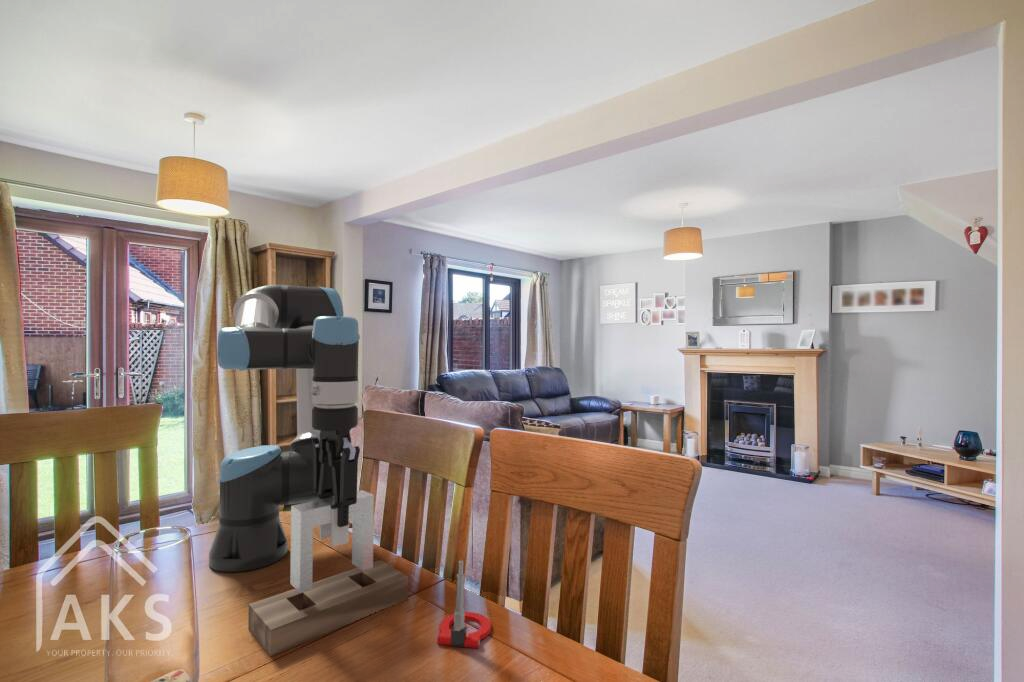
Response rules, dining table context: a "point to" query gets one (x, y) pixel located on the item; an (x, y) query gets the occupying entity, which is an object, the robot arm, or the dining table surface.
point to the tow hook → (462, 621)
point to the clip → (321, 514)
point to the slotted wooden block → (325, 606)
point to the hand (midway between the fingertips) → (333, 539)
